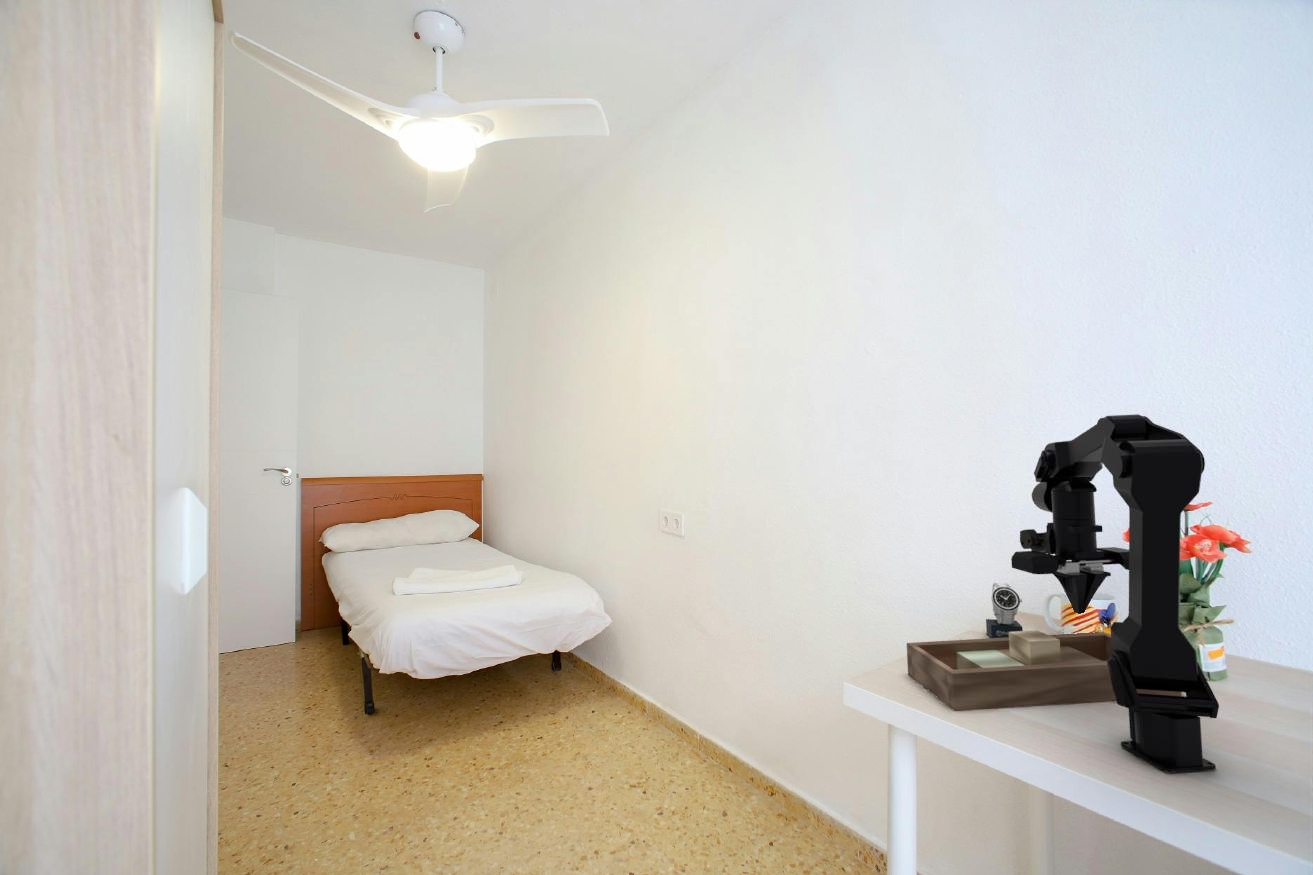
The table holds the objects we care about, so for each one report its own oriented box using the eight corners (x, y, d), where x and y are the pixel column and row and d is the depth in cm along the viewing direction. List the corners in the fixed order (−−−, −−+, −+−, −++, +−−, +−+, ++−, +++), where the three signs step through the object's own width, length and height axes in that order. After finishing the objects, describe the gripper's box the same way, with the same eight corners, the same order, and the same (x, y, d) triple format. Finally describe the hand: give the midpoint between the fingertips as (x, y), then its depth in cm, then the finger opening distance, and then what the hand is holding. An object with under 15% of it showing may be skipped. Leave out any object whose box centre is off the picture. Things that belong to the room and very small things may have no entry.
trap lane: (1181, 696, 87) (1179, 660, 87) (954, 710, 85) (952, 673, 85) (1104, 663, 101) (1103, 631, 101) (908, 674, 99) (906, 642, 99)
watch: (994, 643, 113) (991, 588, 113) (984, 631, 121) (982, 579, 121) (1026, 645, 111) (1023, 589, 111) (1015, 633, 119) (1012, 580, 119)
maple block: (1061, 664, 91) (1059, 639, 91) (1031, 666, 91) (1029, 641, 91) (1038, 654, 96) (1037, 630, 96) (1009, 655, 96) (1008, 631, 96)
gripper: (1088, 511, 103) (1093, 597, 102) (988, 515, 102) (993, 603, 101) (1143, 517, 92) (1149, 615, 91) (1032, 522, 91) (1038, 621, 90)
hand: (1079, 612), depth 94 cm, fingers closed
